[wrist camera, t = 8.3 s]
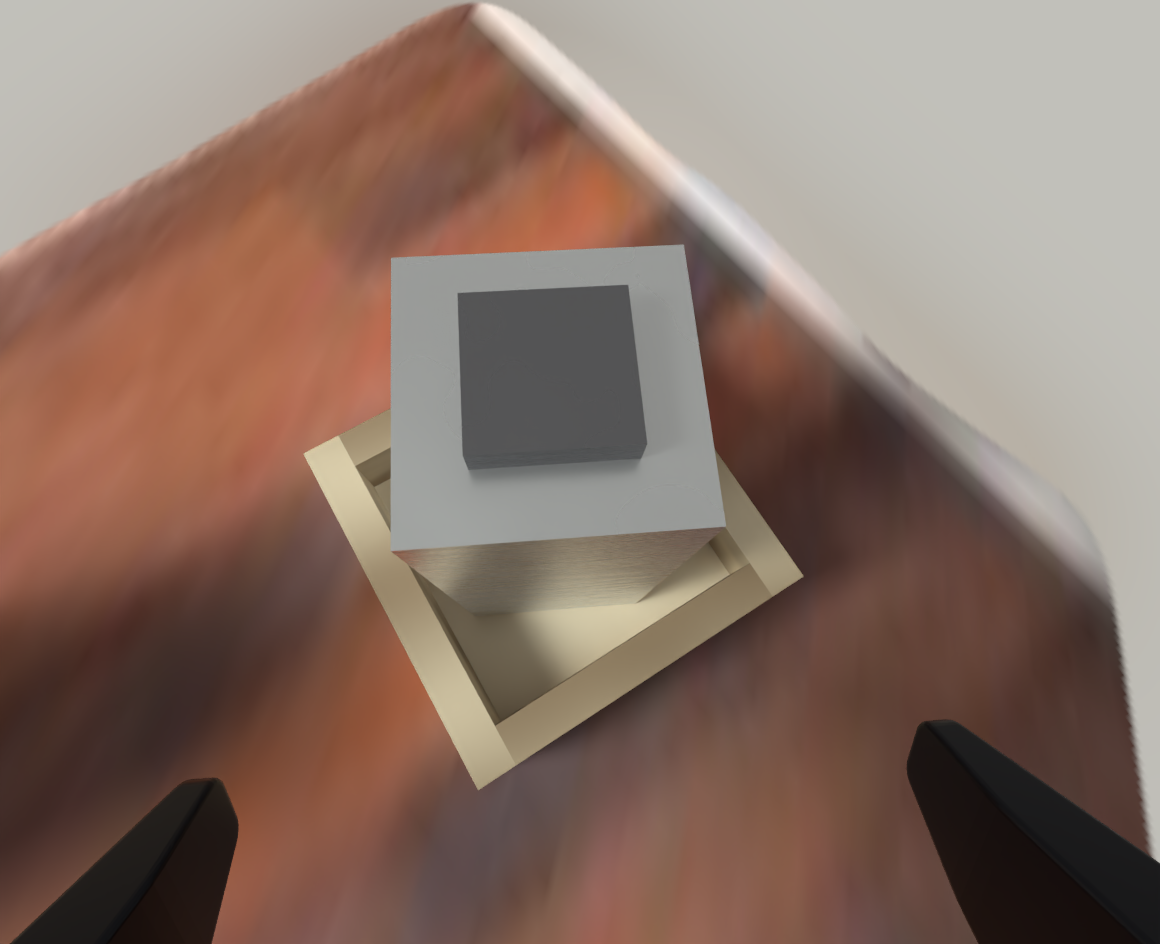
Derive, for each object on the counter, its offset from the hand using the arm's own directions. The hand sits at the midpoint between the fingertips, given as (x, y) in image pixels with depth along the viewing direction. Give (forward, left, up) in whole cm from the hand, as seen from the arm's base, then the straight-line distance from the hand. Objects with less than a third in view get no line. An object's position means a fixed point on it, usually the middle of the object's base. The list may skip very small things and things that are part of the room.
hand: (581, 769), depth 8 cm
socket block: (+5, -2, -9) cm, 11 cm away
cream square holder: (+5, -2, -10) cm, 12 cm away
